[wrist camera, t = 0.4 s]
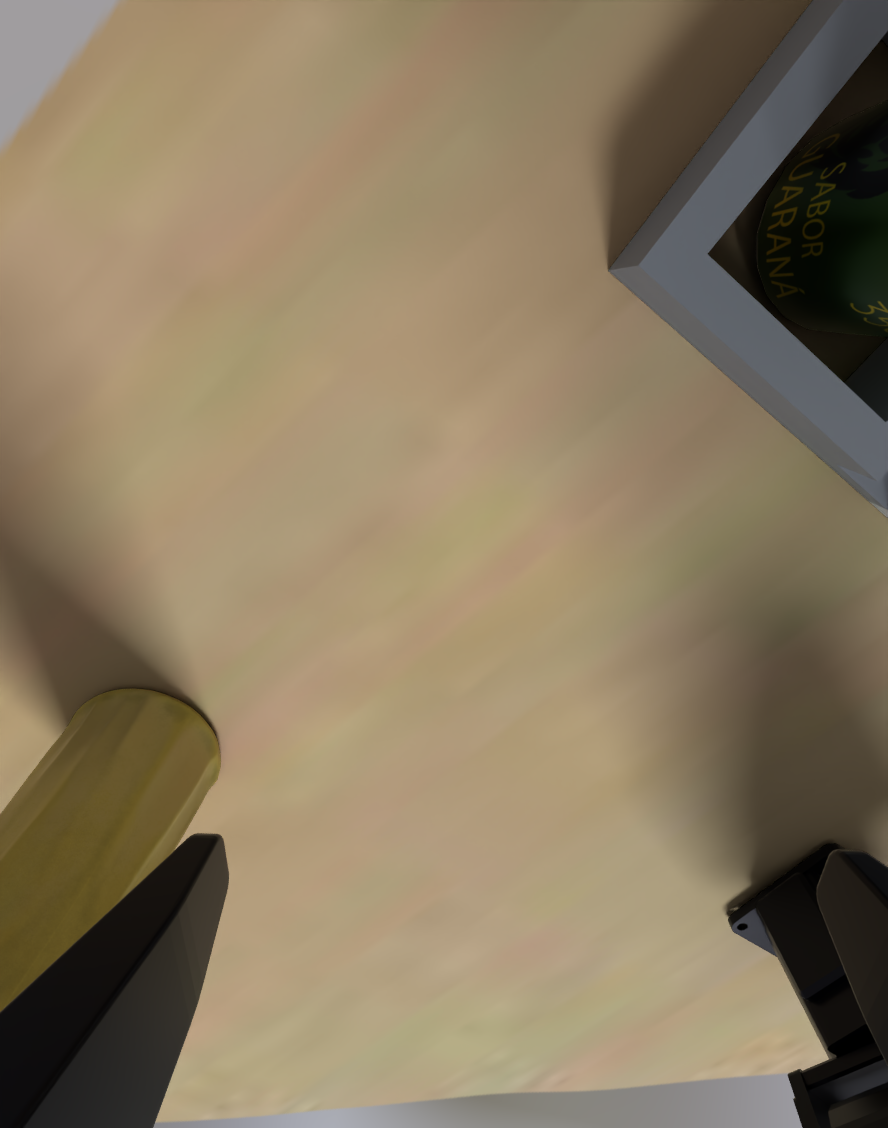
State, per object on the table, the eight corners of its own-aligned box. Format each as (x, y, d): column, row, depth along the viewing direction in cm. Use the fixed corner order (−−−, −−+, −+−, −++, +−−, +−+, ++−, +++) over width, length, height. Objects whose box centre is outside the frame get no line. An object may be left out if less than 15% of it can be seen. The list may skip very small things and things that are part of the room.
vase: (123, 817, 26) (-188, 1325, 13) (40, 710, 24) (-433, 1196, 11) (248, 781, 26) (48, 1282, 13) (175, 666, 23) (-163, 1136, 10)
